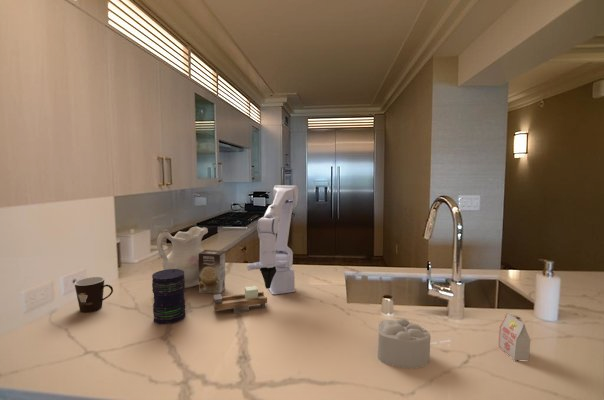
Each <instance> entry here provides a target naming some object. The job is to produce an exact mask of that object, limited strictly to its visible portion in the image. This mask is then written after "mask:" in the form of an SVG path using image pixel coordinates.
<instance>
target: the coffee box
mask: <svg viewBox="0 0 604 400" xmlns="http://www.w3.org/2000/svg"><path fill="white" fill-rule="evenodd" d="M202 250H203V251H202V252H200V253H199V285H198V293H203V294H214V295H217V294H221V293H222V292H224V290H225V288H226V251H225V250H216V249H214V250H213V249H202Z"/></svg>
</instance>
